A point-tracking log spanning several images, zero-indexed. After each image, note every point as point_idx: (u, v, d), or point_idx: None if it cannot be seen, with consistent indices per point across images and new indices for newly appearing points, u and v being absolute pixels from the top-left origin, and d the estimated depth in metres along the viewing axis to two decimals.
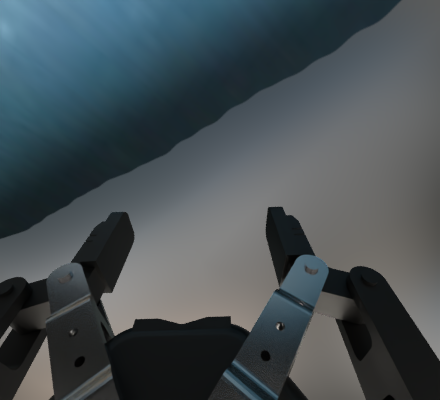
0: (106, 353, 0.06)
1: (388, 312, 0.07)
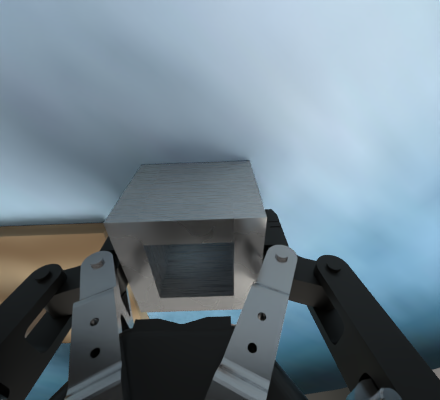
0: (120, 350, 0.06)
1: (354, 295, 0.07)
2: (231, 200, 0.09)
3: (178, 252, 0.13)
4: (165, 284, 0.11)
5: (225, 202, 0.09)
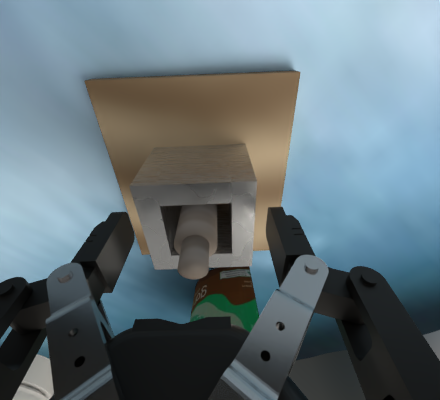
0: (106, 353, 0.06)
1: (388, 312, 0.07)
2: (229, 170, 0.11)
3: None
4: None
5: (224, 172, 0.11)
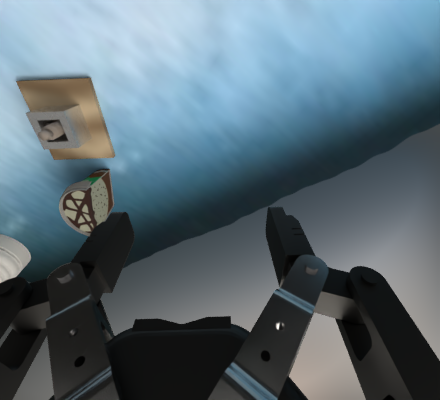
0: (106, 353, 0.06)
1: (388, 312, 0.07)
2: (60, 109, 0.36)
3: (60, 136, 0.40)
4: (51, 140, 0.38)
5: (58, 110, 0.36)
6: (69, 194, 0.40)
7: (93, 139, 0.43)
